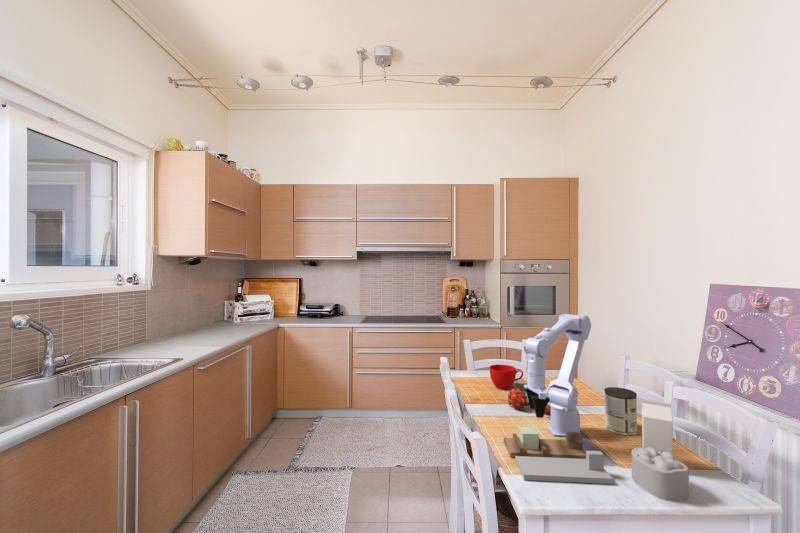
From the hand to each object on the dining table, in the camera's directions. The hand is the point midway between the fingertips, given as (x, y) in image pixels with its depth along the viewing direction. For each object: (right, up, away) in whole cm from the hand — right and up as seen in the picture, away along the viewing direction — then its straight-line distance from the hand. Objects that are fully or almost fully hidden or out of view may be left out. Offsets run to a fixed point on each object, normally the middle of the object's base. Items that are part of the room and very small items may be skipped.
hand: (536, 412), depth 120 cm
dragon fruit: (+4, -11, +31) cm, 33 cm away
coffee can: (+36, -11, +10) cm, 39 cm away
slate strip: (0, -10, -18) cm, 20 cm away
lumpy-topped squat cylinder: (+24, -10, -24) cm, 35 cm away
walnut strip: (0, -10, -6) cm, 12 cm away
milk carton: (+32, -10, -13) cm, 36 cm away
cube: (-5, -9, -5) cm, 11 cm away
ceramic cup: (+7, -12, +58) cm, 59 cm away
